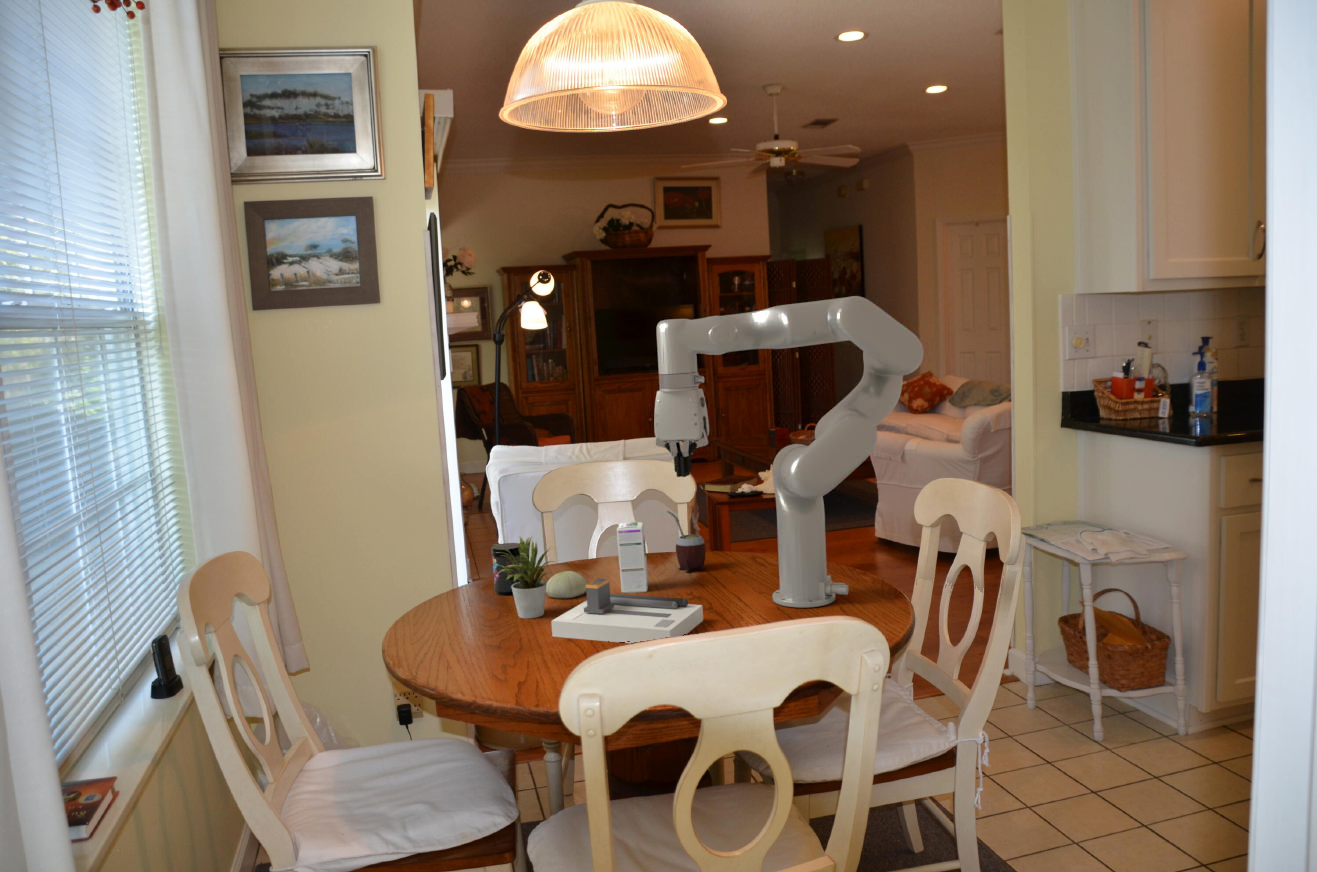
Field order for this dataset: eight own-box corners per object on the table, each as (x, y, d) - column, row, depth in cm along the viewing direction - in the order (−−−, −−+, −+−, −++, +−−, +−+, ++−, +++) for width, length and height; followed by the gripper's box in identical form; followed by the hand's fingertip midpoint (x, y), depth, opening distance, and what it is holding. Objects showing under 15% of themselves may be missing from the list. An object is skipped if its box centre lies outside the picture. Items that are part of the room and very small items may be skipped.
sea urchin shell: (535, 591, 200) (546, 559, 204) (549, 609, 205) (560, 578, 210) (572, 593, 196) (583, 561, 201) (586, 612, 202) (596, 580, 206)
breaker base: (703, 620, 178) (701, 596, 178) (670, 646, 164) (669, 621, 163) (592, 612, 188) (590, 589, 188) (552, 636, 174) (550, 612, 173)
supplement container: (510, 586, 212) (507, 541, 211) (531, 589, 208) (528, 544, 207) (488, 593, 207) (484, 547, 206) (509, 597, 203) (506, 550, 202)
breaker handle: (614, 606, 180) (612, 578, 179) (602, 613, 175) (600, 585, 174) (596, 604, 181) (594, 577, 181) (583, 612, 177) (582, 584, 176)
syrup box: (647, 592, 201) (643, 526, 200) (620, 593, 201) (616, 527, 200) (648, 585, 207) (644, 521, 205) (621, 586, 207) (618, 522, 206)
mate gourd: (710, 567, 220) (707, 504, 219) (700, 575, 213) (696, 510, 211) (681, 566, 223) (677, 504, 222) (669, 574, 216) (666, 510, 214)
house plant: (485, 610, 194) (479, 533, 192) (549, 600, 199) (544, 524, 197) (501, 628, 180) (495, 545, 179) (569, 616, 186) (564, 536, 184)
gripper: (721, 380, 182) (725, 473, 184) (651, 383, 188) (656, 472, 190) (707, 382, 175) (712, 479, 177) (635, 385, 181) (641, 478, 183)
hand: (683, 475), depth 183 cm, fingers closed
